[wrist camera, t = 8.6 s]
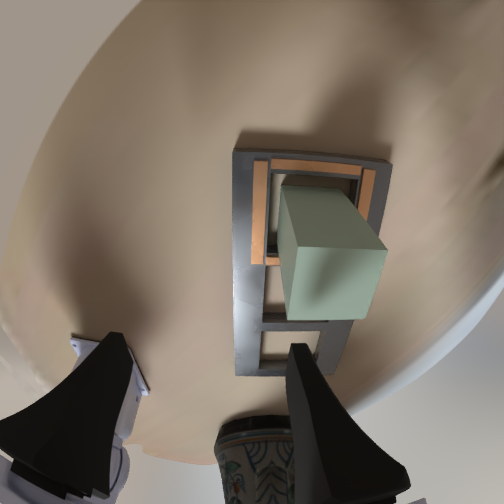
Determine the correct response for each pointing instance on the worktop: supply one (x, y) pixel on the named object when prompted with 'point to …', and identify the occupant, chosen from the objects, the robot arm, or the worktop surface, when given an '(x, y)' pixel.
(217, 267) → the worktop surface
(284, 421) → the beer stein
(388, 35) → the worktop surface
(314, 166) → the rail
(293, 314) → the peg
